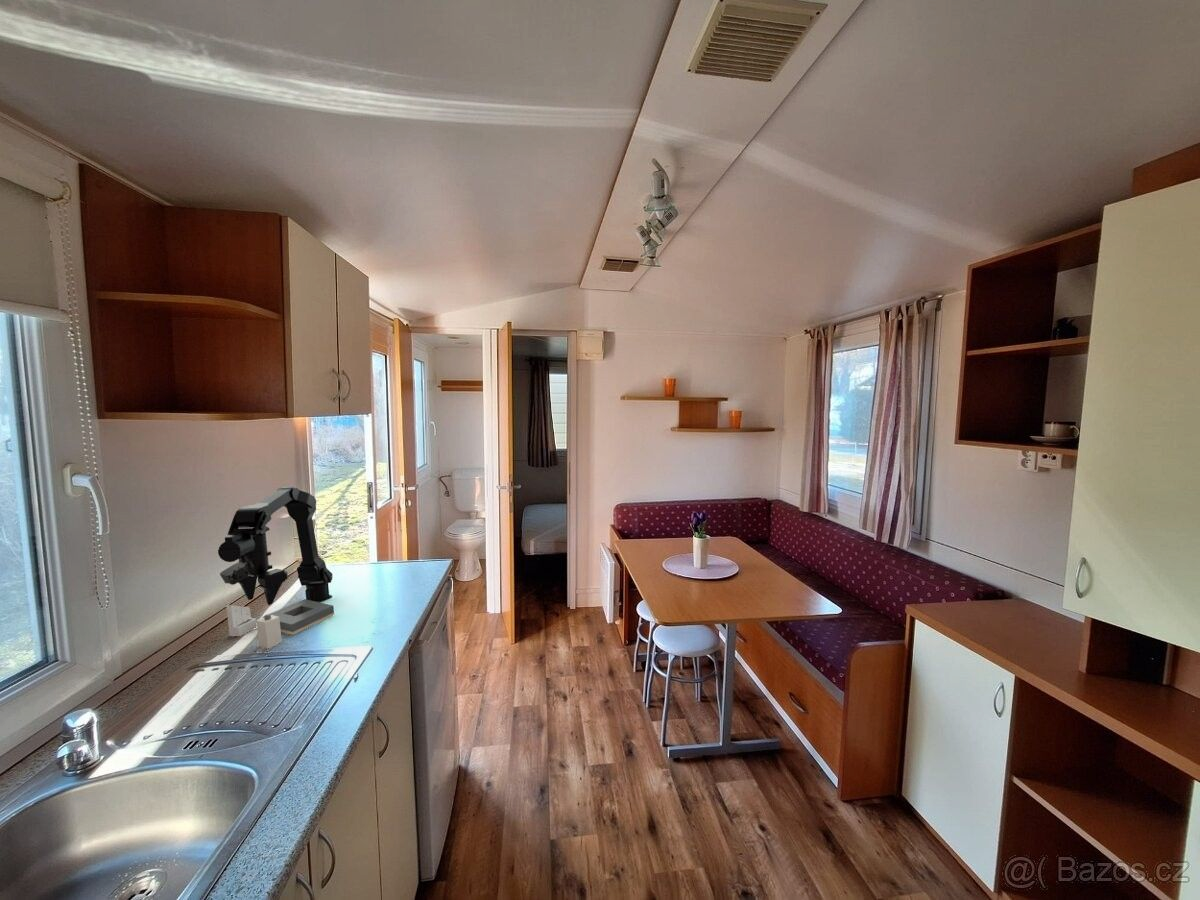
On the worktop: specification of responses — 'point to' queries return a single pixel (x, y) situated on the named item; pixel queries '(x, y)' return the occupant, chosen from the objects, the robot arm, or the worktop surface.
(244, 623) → the white wedge bracket
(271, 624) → the plug
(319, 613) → the socket
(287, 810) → the worktop surface
